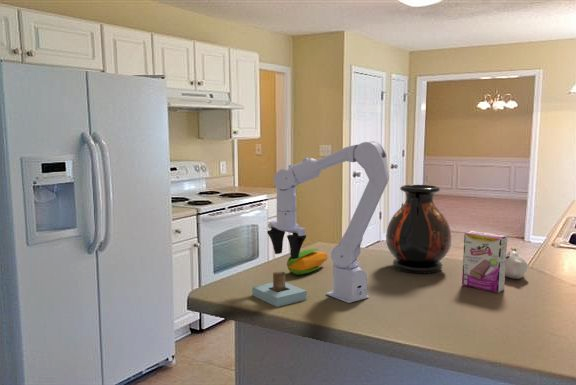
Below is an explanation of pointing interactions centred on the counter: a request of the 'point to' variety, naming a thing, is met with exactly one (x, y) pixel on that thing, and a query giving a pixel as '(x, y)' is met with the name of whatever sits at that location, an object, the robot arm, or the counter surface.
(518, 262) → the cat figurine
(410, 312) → the counter surface
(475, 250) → the candy bar box
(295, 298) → the board
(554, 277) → the counter surface
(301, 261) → the corn
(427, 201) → the black and orange vase
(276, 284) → the peg
